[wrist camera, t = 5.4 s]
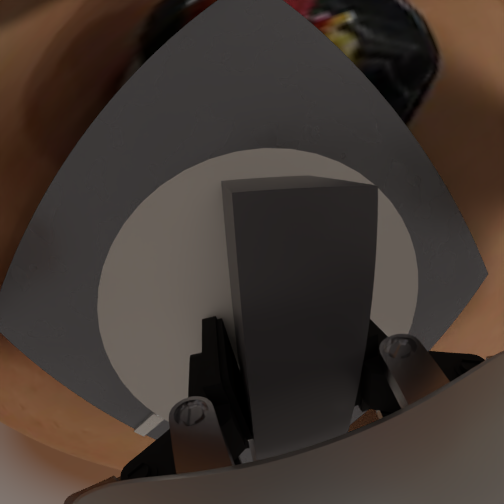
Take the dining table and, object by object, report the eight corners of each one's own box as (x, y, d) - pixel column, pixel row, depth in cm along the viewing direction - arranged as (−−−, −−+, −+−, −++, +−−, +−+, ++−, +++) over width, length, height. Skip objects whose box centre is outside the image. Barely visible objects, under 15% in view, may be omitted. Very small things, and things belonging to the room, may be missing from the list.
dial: (82, 172, 10) (-14, 186, 4) (406, 152, 12) (510, 158, 6) (158, 445, 15) (153, 526, 9) (374, 409, 16) (416, 473, 11)
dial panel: (245, -3, 11) (251, -25, 8) (469, 264, 17) (490, 275, 15) (6, 307, 13) (-12, 324, 11) (263, 461, 20) (268, 482, 18)
